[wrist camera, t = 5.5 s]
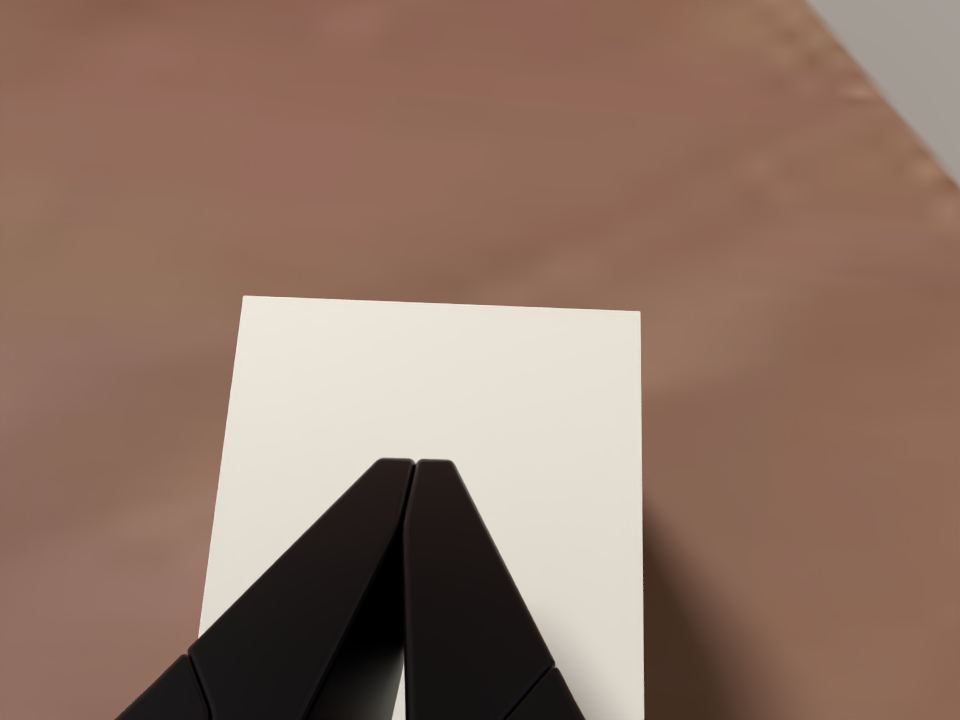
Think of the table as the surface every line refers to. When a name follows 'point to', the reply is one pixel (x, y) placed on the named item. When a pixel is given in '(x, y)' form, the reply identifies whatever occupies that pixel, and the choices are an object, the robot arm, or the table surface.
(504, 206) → the table surface
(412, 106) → the table surface
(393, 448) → the plain cream block
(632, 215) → the table surface
